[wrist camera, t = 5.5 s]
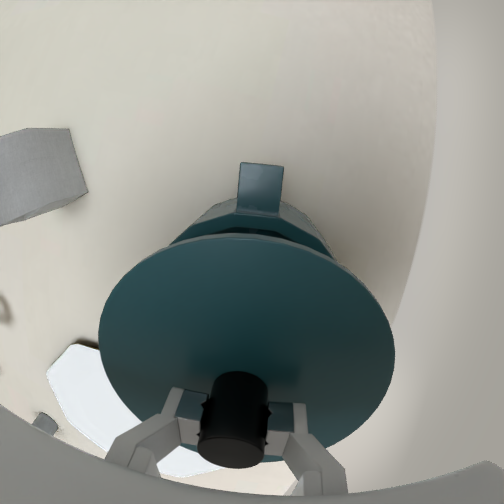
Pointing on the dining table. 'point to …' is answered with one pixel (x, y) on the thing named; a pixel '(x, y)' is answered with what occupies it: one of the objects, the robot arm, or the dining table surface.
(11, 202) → the grey gabled block
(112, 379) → the lid
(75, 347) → the plate
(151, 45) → the dining table surface
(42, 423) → the grey tall cylinder
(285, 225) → the pot
